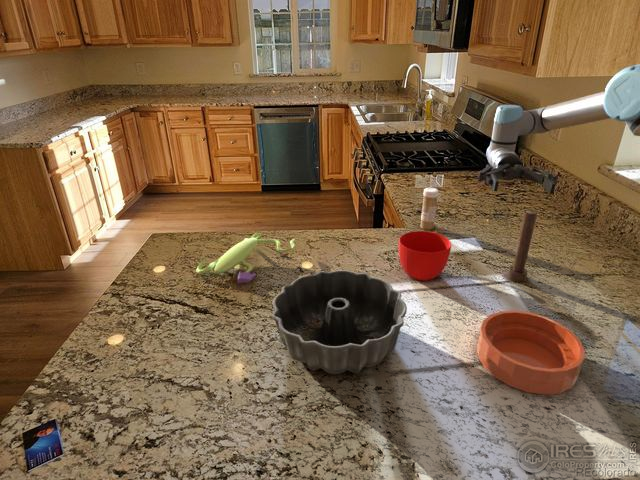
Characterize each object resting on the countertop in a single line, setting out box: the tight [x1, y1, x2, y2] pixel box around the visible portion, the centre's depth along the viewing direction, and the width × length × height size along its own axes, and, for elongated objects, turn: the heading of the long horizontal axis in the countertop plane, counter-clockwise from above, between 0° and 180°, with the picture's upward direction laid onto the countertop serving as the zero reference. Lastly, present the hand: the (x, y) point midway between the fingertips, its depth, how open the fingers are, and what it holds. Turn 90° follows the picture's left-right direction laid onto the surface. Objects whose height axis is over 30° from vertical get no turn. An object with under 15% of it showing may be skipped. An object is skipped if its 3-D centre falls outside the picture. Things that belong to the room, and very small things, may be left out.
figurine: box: [195, 232, 297, 284], centre depth 117 cm, size 18×27×6 cm
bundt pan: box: [271, 269, 408, 375], centre depth 86 cm, size 26×26×10 cm
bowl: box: [476, 310, 586, 395], centre depth 81 cm, size 18×18×6 cm
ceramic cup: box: [398, 230, 452, 282], centre depth 112 cm, size 13×17×10 cm
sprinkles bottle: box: [419, 187, 439, 231], centre depth 136 cm, size 5×5×13 cm
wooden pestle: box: [507, 209, 538, 283], centre depth 106 cm, size 4×4×19 cm
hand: (524, 187), depth 109 cm, fingers open, 13 cm apart
